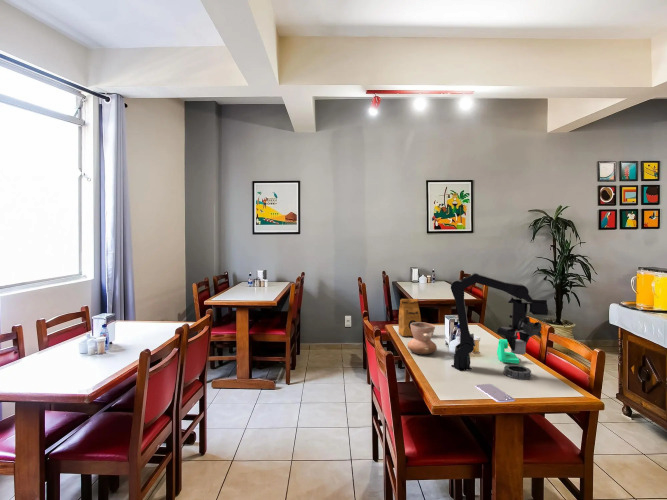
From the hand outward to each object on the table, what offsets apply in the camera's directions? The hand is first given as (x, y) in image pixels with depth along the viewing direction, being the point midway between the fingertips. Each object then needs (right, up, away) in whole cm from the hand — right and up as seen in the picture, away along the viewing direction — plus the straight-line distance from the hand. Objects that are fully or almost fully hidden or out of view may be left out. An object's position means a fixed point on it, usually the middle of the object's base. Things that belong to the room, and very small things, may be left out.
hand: (518, 350), depth 160 cm
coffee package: (-34, -8, +62) cm, 71 cm away
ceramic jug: (-34, -9, +31) cm, 47 cm away
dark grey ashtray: (0, -11, +1) cm, 11 cm away
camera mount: (+5, -11, +19) cm, 22 cm away
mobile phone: (-18, -12, -19) cm, 29 cm away
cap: (0, -1, 0) cm, 1 cm away
